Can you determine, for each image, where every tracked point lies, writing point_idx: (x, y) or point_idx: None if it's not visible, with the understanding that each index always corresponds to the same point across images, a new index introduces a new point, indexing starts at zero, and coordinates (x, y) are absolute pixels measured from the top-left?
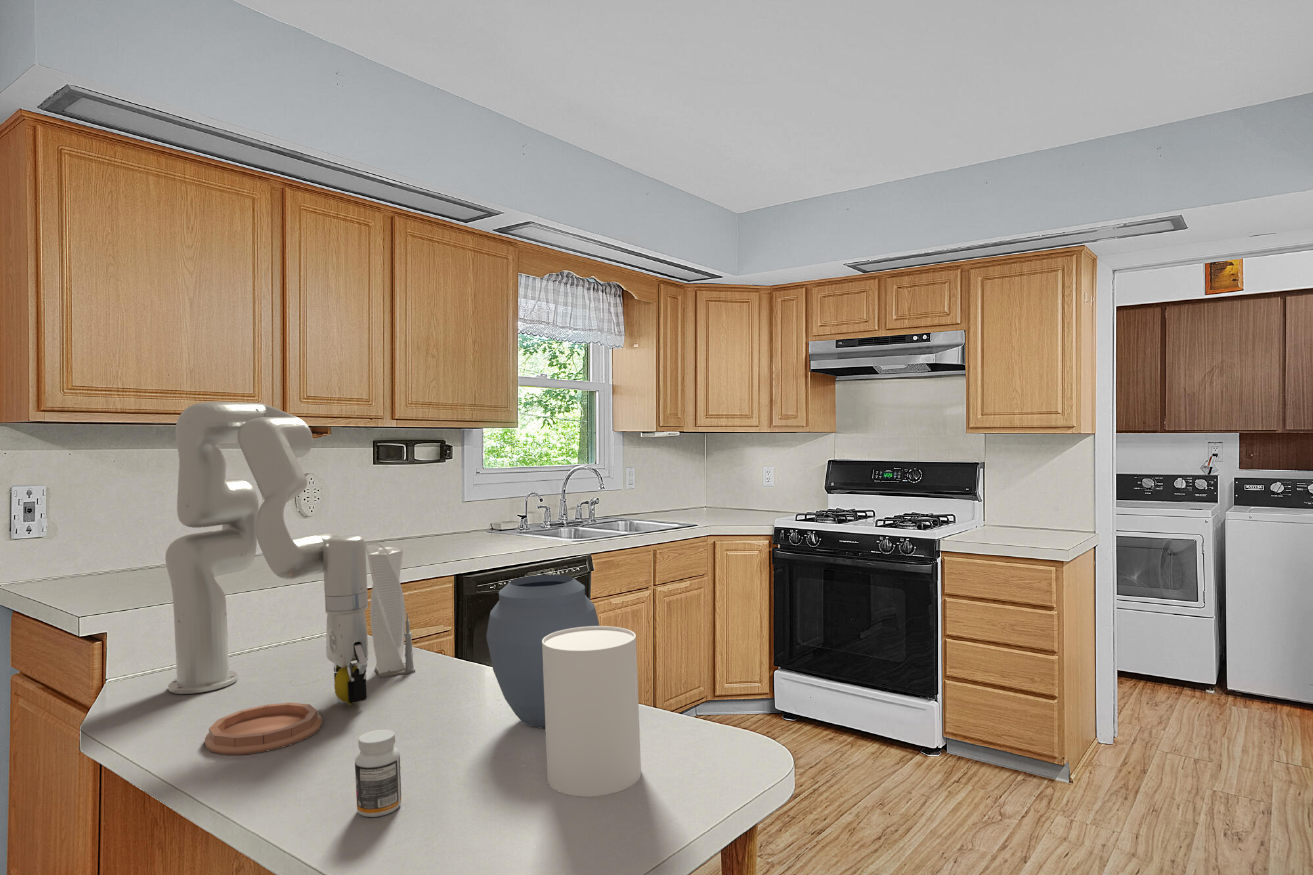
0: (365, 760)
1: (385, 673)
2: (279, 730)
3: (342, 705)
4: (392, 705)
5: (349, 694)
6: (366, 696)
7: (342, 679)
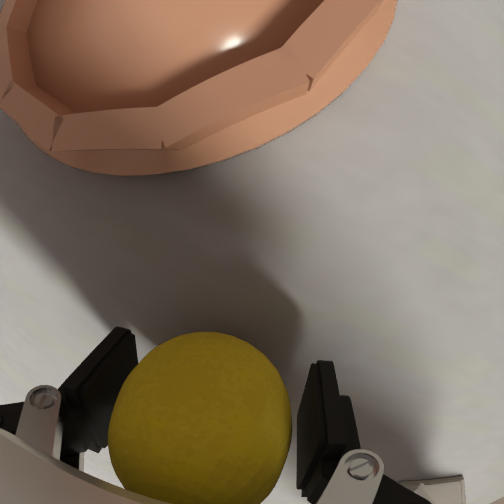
0: None
1: None
2: (5, 7)
3: (251, 332)
4: None
5: (96, 347)
6: None
7: (125, 404)
